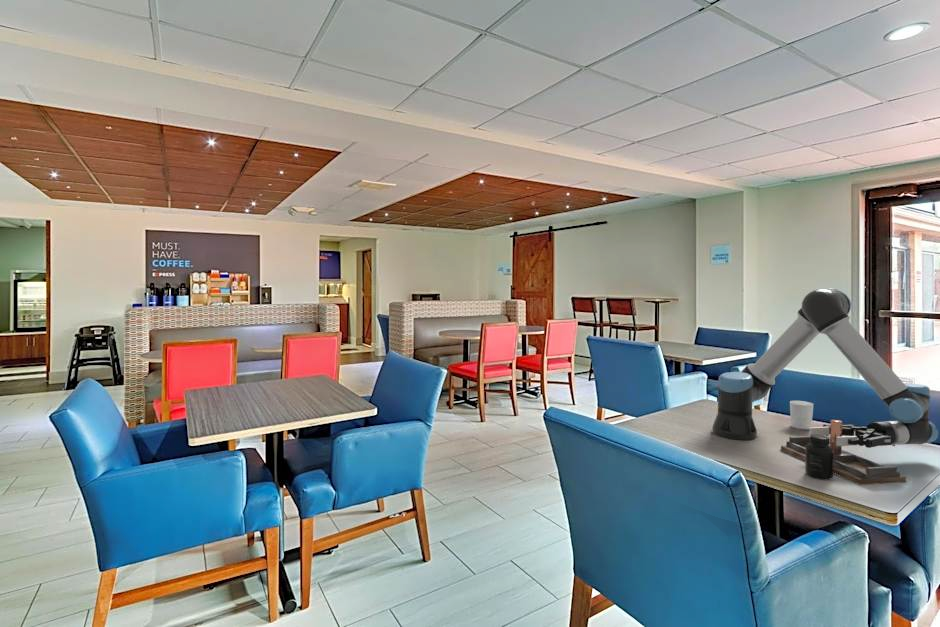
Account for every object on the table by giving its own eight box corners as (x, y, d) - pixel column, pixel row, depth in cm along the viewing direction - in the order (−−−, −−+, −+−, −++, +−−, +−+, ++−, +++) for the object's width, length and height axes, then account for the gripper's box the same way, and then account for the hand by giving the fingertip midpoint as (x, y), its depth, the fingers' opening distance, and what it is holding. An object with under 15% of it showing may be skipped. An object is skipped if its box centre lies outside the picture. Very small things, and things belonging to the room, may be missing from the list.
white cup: (817, 430, 191) (818, 405, 191) (797, 430, 192) (798, 405, 191) (804, 424, 199) (804, 400, 199) (784, 424, 199) (785, 400, 199)
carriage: (855, 461, 152) (856, 423, 152) (834, 462, 151) (835, 424, 151) (835, 453, 159) (836, 417, 159) (816, 454, 158) (817, 418, 158)
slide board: (905, 481, 140) (906, 466, 140) (859, 484, 139) (859, 469, 139) (820, 447, 170) (820, 435, 170) (781, 450, 169) (781, 437, 168)
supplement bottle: (839, 479, 142) (840, 439, 142) (817, 480, 142) (818, 440, 141) (820, 470, 149) (821, 432, 149) (799, 471, 149) (800, 433, 148)
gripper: (921, 456, 146) (854, 460, 144) (854, 434, 168) (796, 437, 166) (922, 432, 146) (854, 435, 143) (855, 413, 168) (796, 415, 165)
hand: (823, 436), depth 154 cm, fingers open, 9 cm apart
